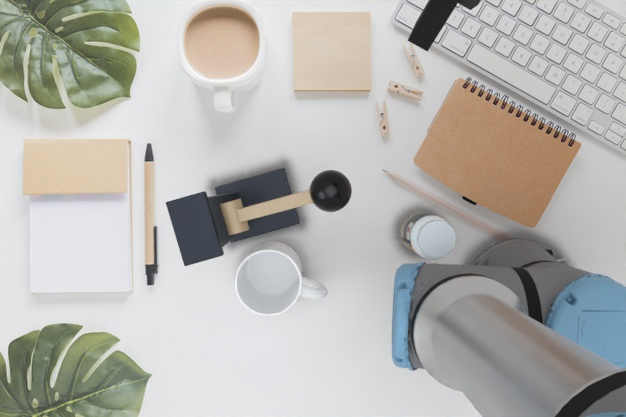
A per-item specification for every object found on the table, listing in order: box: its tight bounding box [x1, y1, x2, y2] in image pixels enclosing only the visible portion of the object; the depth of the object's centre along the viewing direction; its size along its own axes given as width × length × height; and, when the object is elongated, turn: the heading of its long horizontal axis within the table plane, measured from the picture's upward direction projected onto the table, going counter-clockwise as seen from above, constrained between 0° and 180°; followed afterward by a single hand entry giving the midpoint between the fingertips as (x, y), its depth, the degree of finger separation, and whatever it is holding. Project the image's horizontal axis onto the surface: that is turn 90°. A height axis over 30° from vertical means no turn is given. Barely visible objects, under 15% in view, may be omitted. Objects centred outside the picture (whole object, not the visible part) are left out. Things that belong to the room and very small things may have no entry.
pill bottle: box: [400, 212, 457, 260], centre depth 72 cm, size 6×6×10 cm
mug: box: [234, 240, 329, 317], centre depth 72 cm, size 12×8×10 cm
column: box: [165, 190, 240, 267], centre depth 62 cm, size 4×6×27 cm, turn 16°
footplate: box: [214, 167, 301, 244], centre depth 76 cm, size 10×8×1 cm
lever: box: [220, 169, 353, 235], centre depth 49 cm, size 13×4×4 cm, turn 105°
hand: (421, 36), depth 36 cm, fingers closed
